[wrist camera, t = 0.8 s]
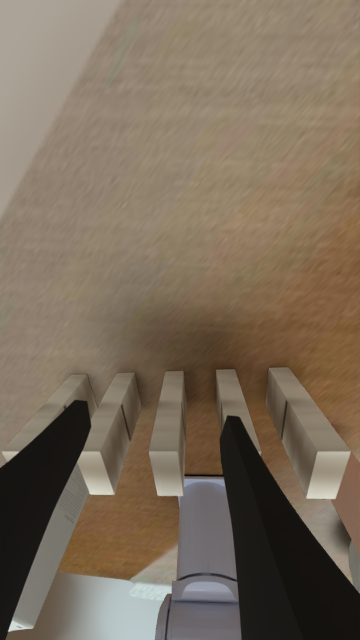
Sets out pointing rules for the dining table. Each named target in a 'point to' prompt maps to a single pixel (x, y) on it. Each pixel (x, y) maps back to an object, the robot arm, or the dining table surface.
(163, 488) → the domino
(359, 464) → the head domino
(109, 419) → the domino
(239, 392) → the domino
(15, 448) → the domino
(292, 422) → the domino
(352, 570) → the serving bowl
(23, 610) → the small box
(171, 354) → the dining table surface
